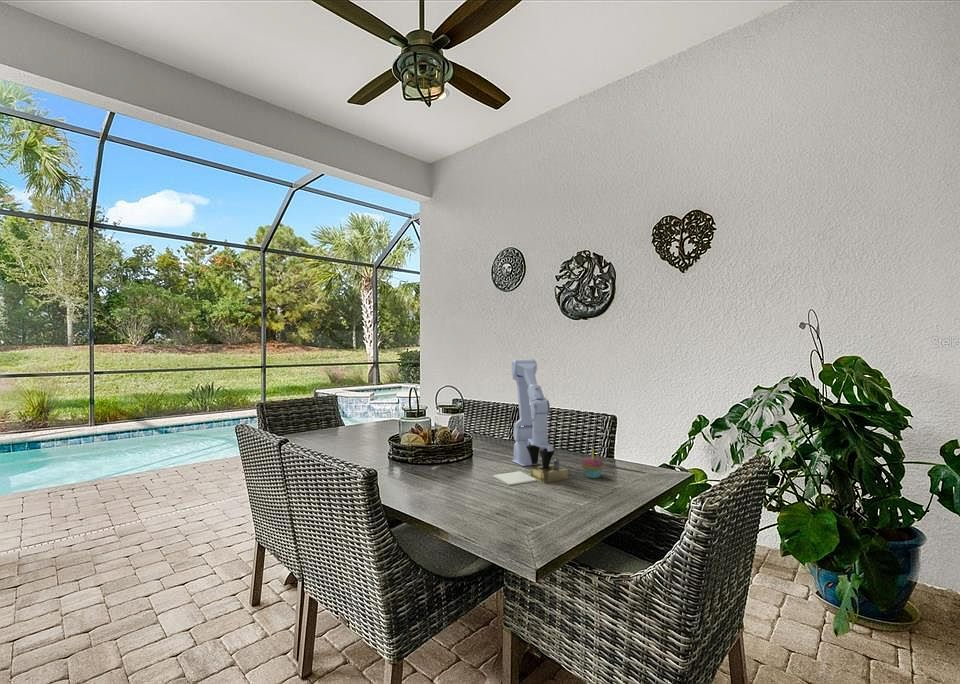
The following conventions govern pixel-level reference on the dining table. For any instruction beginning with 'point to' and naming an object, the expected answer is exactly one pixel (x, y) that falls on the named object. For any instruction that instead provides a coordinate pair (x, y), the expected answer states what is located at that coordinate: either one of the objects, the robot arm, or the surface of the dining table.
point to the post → (556, 464)
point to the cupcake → (592, 466)
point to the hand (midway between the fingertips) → (540, 466)
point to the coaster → (514, 478)
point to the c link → (548, 473)
